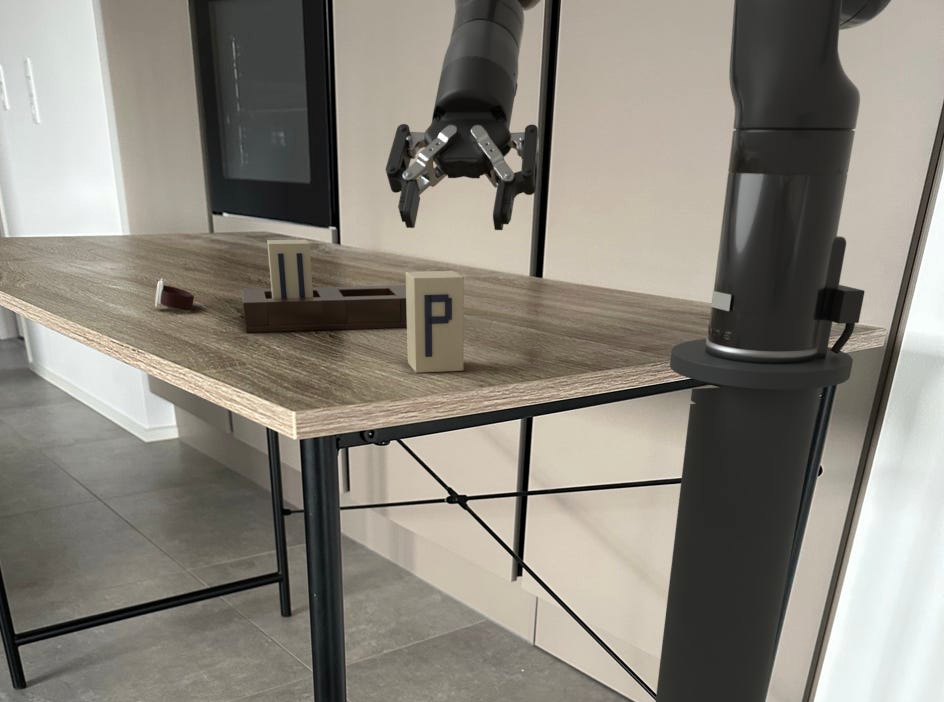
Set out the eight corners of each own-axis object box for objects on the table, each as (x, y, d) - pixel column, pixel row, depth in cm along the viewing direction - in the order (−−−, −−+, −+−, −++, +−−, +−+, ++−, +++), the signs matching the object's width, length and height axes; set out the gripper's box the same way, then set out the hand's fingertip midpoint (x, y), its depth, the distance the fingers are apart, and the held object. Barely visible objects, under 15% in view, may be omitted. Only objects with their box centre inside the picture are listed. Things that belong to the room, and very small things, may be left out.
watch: (153, 305, 118) (149, 274, 117) (192, 303, 120) (188, 273, 118) (158, 314, 112) (153, 282, 110) (198, 312, 113) (194, 280, 112)
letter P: (453, 361, 89) (453, 270, 85) (464, 371, 85) (464, 277, 81) (407, 363, 88) (405, 271, 84) (416, 373, 84) (414, 278, 80)
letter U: (311, 313, 109) (306, 239, 106) (314, 320, 105) (309, 243, 102) (273, 314, 109) (267, 240, 105) (275, 321, 105) (268, 243, 101)
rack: (407, 311, 115) (406, 284, 113) (423, 326, 105) (422, 297, 104) (244, 316, 111) (241, 288, 110) (245, 332, 102) (242, 302, 100)
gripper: (399, 54, 90) (369, 191, 85) (547, 52, 87) (525, 194, 83) (414, 118, 97) (387, 249, 92) (551, 119, 94) (531, 252, 90)
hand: (452, 222), depth 88 cm, fingers open, 8 cm apart
